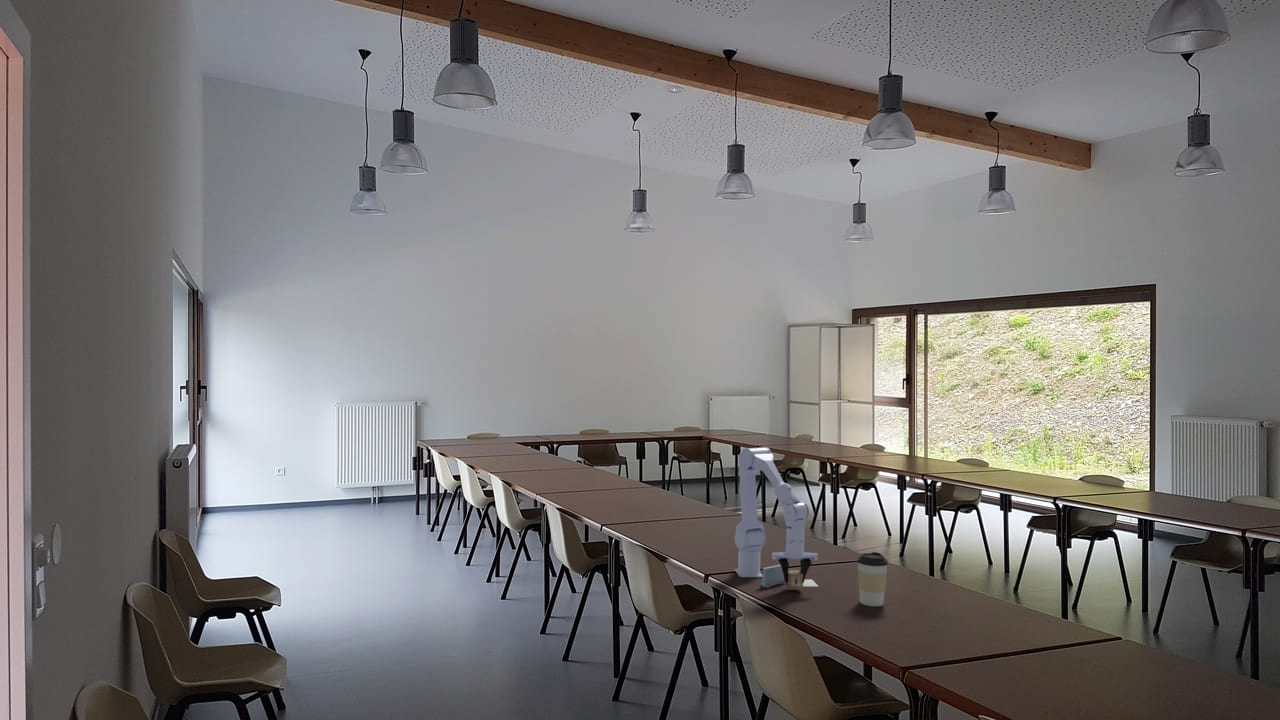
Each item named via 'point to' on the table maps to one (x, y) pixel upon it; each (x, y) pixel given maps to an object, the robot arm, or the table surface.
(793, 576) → the letter cube
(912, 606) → the table surface
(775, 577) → the screen
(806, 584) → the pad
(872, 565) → the coffee cup
